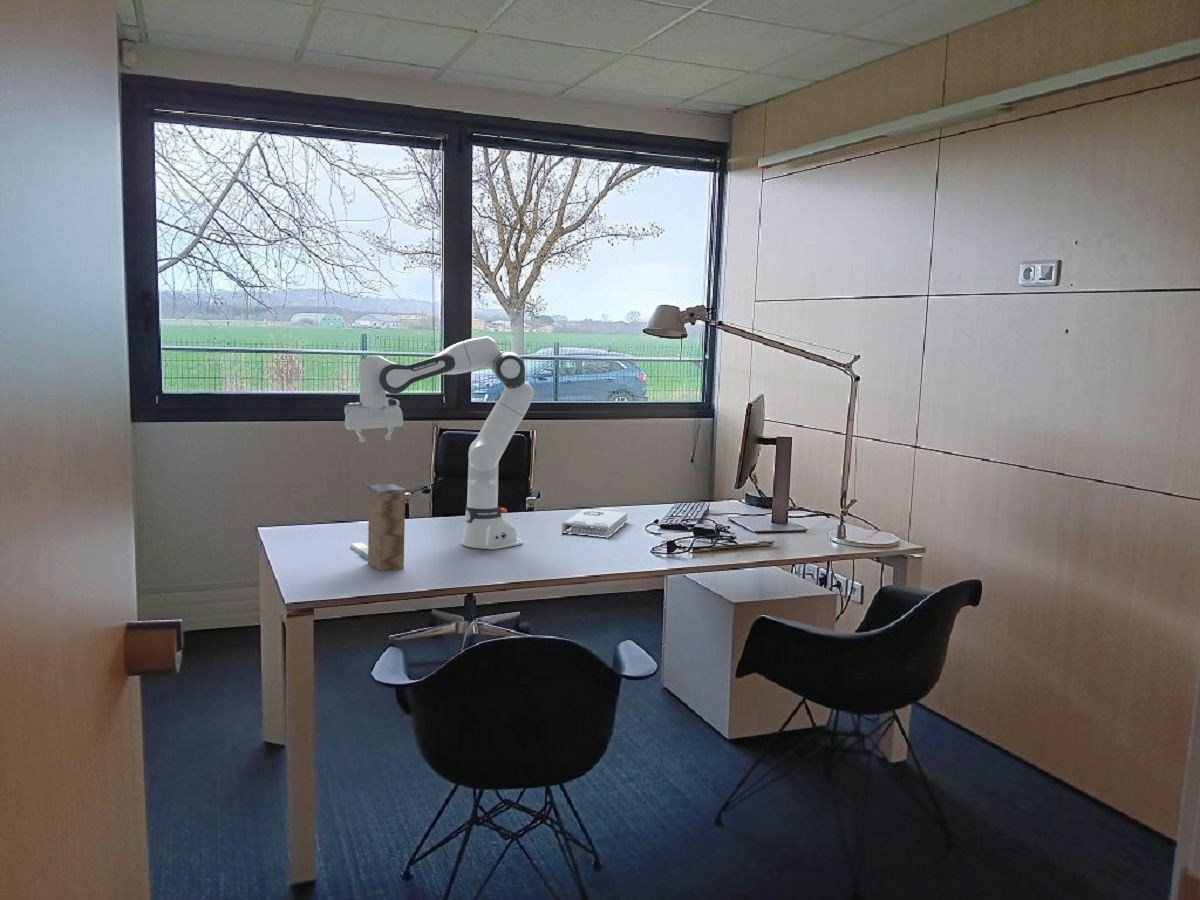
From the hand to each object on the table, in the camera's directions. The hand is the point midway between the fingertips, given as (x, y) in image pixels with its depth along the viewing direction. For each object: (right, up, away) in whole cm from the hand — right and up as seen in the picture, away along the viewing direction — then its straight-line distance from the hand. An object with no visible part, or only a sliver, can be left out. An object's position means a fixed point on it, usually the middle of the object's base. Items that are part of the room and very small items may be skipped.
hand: (375, 440), depth 313 cm
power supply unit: (+78, -36, +49) cm, 99 cm away
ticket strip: (-1, -39, -8) cm, 40 cm away
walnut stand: (+9, -41, -23) cm, 48 cm away
